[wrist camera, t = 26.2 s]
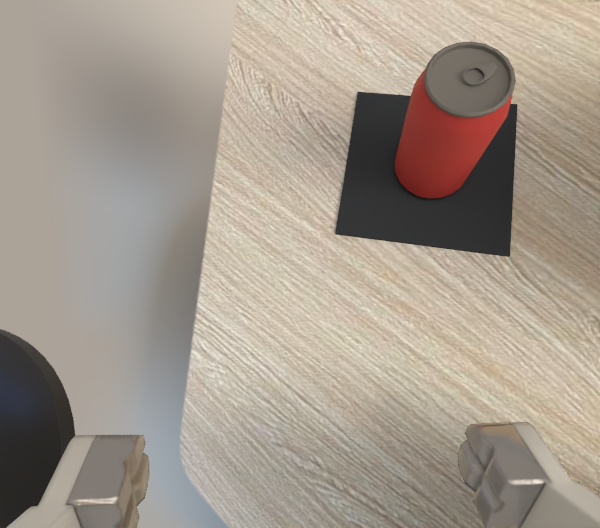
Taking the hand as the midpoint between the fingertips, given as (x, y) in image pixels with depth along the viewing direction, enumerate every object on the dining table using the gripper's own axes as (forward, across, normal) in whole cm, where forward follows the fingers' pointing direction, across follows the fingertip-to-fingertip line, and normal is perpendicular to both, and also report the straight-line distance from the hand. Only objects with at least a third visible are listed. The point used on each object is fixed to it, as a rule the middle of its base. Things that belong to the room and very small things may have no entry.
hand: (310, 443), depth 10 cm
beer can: (+29, -14, +1) cm, 32 cm away
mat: (+29, -14, +1) cm, 32 cm away
